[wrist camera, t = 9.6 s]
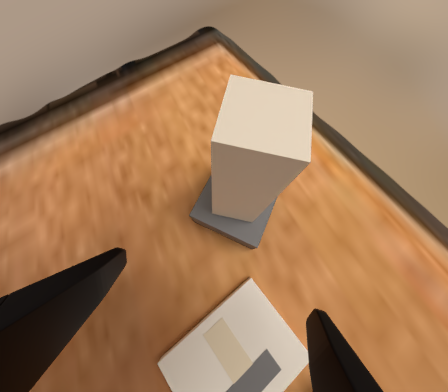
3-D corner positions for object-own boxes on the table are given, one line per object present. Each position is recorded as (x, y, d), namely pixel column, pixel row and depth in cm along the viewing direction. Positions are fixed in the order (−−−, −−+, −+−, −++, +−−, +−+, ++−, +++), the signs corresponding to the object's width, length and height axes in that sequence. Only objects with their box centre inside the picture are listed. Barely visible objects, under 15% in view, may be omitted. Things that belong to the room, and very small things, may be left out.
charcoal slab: (251, 249, 22) (257, 247, 18) (194, 222, 23) (189, 215, 19) (273, 194, 24) (282, 183, 20) (221, 172, 25) (220, 157, 22)
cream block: (252, 222, 19) (310, 162, 8) (212, 213, 19) (211, 140, 8) (257, 185, 20) (312, 91, 9) (220, 177, 20) (230, 74, 9)
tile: (215, 455, 16) (214, 472, 14) (161, 356, 18) (156, 364, 17) (307, 351, 18) (313, 358, 17) (249, 276, 20) (251, 278, 19)
